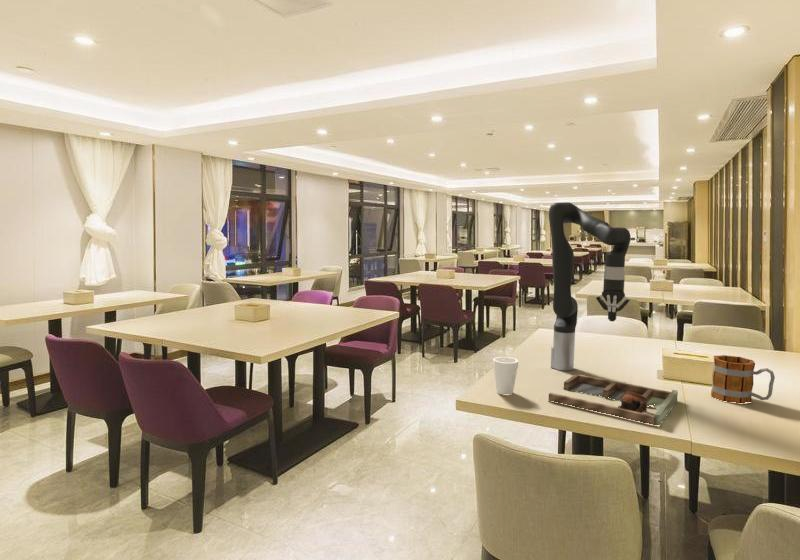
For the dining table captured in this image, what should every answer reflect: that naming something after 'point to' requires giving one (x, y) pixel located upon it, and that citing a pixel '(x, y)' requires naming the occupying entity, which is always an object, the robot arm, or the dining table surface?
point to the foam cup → (505, 374)
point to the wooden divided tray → (617, 398)
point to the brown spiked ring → (633, 402)
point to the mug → (736, 379)
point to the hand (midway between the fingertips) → (611, 321)
